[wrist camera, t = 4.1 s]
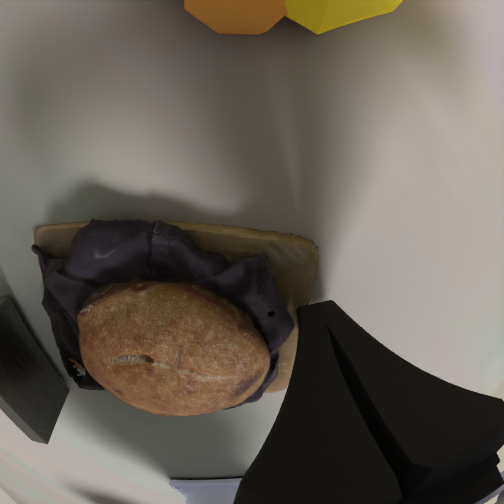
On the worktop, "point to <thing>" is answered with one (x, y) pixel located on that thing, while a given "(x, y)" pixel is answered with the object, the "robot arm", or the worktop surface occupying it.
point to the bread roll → (175, 309)
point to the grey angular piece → (27, 378)
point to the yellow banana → (284, 13)
